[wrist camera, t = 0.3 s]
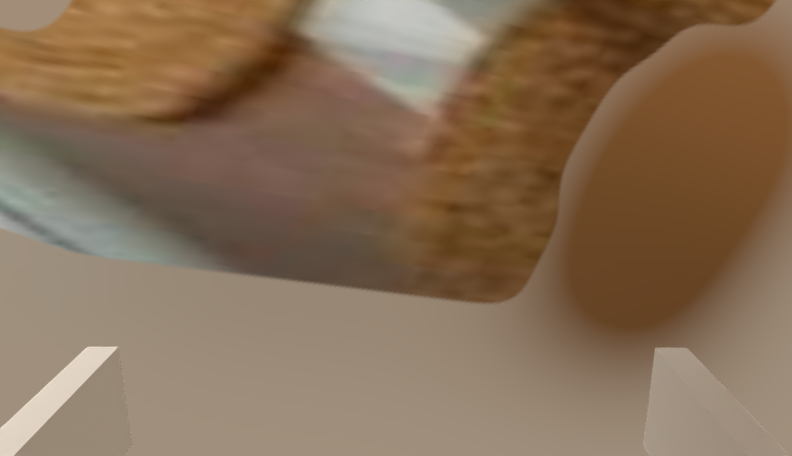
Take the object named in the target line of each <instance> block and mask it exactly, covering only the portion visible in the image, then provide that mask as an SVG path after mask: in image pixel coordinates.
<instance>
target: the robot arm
mask: <svg viewBox="0 0 792 456" xmlns="http://www.w3.org/2000/svg"><path fill="white" fill-rule="evenodd" d="M131 445H132V440H131V433H130V426H129V419H128V412H127V404H126V397H125V390H124V383H123V376H122V369H121V362H120V355H119V348H118V347H87V348H86V349H85V350H84V351H83V352H81V353H80V354H79V355H78V356H77V357H76V358H75V359H74V360H73V361H72V362H71V363H70V364H69V365H67V366H66V367H65V369H63V370H62V371H61V372H60V373H59V374H58V375H57V376H56V377H55V378H54V379H53V380H51V381H50V382H49V383H48V384H47V385H46V386H45V387H44V388H43V389H42V390H41V391H40V392H39V393H38V394H37V395H35V396H34V397H33V398H32V399H31V400H30V401H29V402H28V403H27V404H26V405H25V406H24V407H23V408H22V409H20V411H19V412H17V413H16V414H15V415H14V416H13V417H12V418H11V419H10V420H9V421H8V422H7V423H6V424H4V425H3V426H2V427H1V428H0V456H124V455H125V453H126V452H127V451H128V449H129V448H130V446H131ZM643 446H644V448H645V449H646V451H647V453H648V454H649V456H790V455H789V454H788V453H787V452H786V451H785V450H784V449H783V448H782V447H781V446H780V445H779V444H778V443H777V441H776V440H775V439H774V438H773V437H772V436H771V435H770V434H769V433H768V432H767V431H766V430H765V429H764V428H763V427H762V426H761V425H760V424H759V423H758V422H757V421H756V419H754V418H753V416H752V415H751V414H750V413H749V412H748V411H747V410H746V409H745V408H744V407H743V406H742V405H741V404H740V403H739V402H738V401H737V400H736V399H735V398H734V396H733V395H732V394H731V393H730V392H729V391H728V390H727V389H726V388H725V387H724V386H723V385H722V384H721V383H720V382H719V381H718V380H717V379H716V378H715V377H714V376H713V375H712V373H711V372H710V371H709V370H708V369H707V368H706V367H705V366H704V365H703V364H702V363H701V362H700V361H699V360H698V359H697V358H696V357H695V356H694V355H693V354H692V353H691V352H690V350H689V349H688V348H655V354H654V362H653V370H652V378H651V386H650V394H649V403H648V410H647V418H646V427H645V436H644V443H643Z"/></svg>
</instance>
